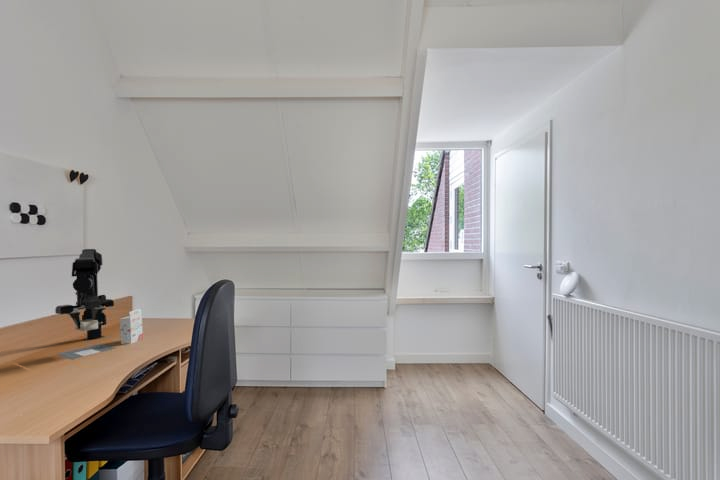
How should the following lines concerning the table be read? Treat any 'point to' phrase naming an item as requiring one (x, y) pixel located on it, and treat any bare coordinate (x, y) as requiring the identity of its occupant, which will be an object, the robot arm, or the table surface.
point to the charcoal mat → (86, 351)
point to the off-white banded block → (87, 325)
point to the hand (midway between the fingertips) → (86, 327)
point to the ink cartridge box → (131, 327)
